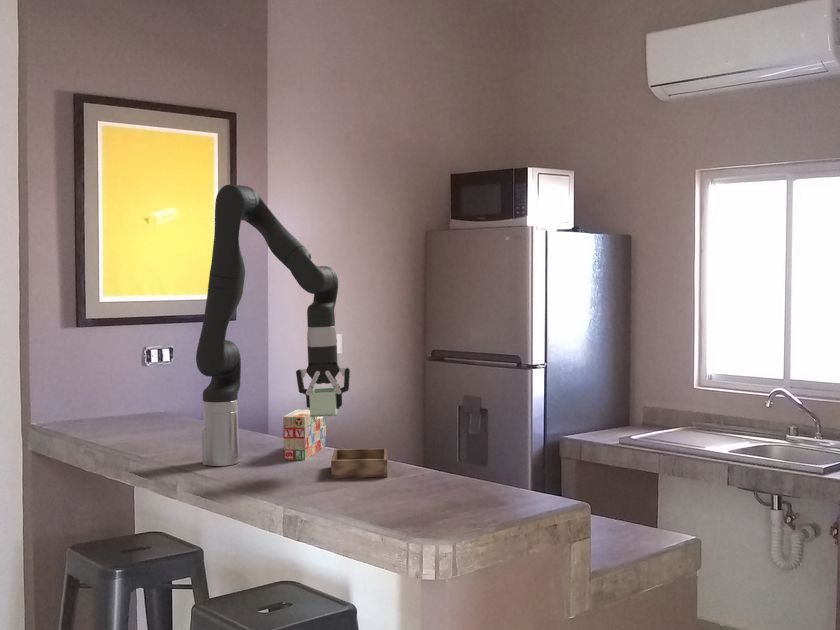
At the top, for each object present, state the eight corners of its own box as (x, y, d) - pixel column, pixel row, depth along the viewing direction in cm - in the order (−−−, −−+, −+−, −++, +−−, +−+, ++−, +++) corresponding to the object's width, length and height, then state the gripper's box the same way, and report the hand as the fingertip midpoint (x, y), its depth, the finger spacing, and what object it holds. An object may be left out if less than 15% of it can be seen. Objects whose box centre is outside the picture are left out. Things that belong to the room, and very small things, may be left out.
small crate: (310, 416, 239) (309, 393, 239) (313, 411, 249) (313, 388, 249) (335, 415, 239) (334, 392, 239) (338, 410, 249) (337, 387, 249)
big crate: (331, 478, 238) (331, 460, 237) (334, 466, 252) (334, 449, 252) (387, 477, 238) (387, 459, 238) (387, 465, 253) (387, 448, 252)
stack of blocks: (306, 445, 283) (305, 404, 282) (326, 445, 282) (325, 404, 281) (283, 460, 262) (282, 415, 261) (305, 460, 260) (304, 416, 260)
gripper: (292, 346, 239) (295, 412, 240) (349, 344, 240) (351, 410, 240) (295, 344, 247) (298, 408, 248) (350, 342, 247) (353, 406, 248)
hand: (324, 408), depth 244 cm, fingers closed on small crate, 6 cm apart
